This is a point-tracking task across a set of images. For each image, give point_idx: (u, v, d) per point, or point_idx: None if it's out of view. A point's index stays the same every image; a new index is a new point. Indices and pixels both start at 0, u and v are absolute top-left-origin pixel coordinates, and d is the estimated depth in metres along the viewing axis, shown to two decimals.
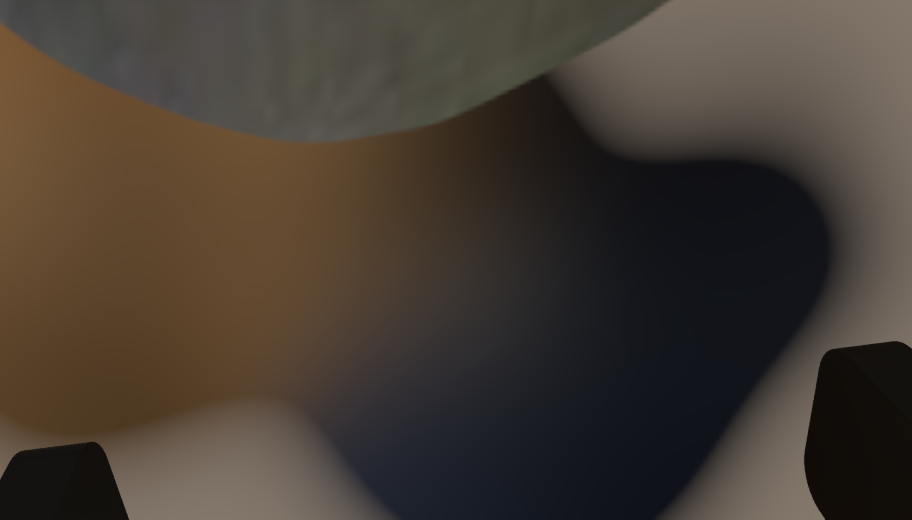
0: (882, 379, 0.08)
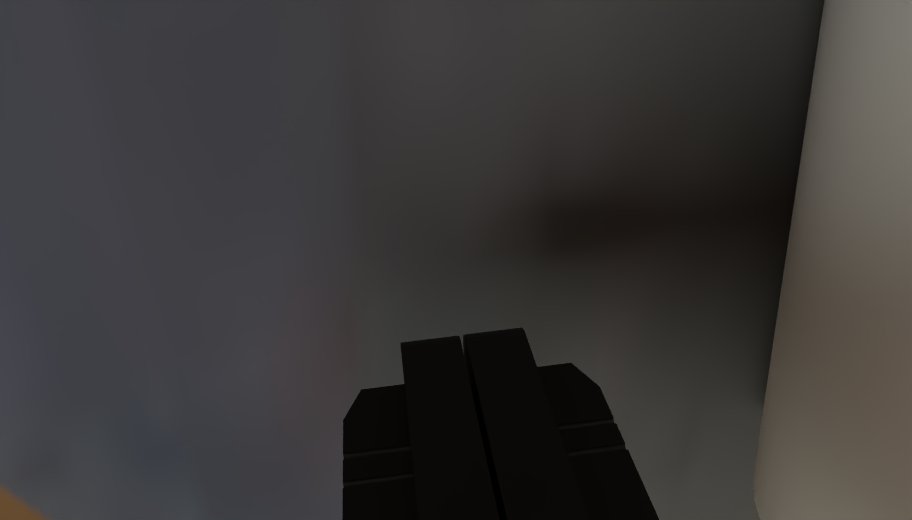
0: (482, 361, 0.09)
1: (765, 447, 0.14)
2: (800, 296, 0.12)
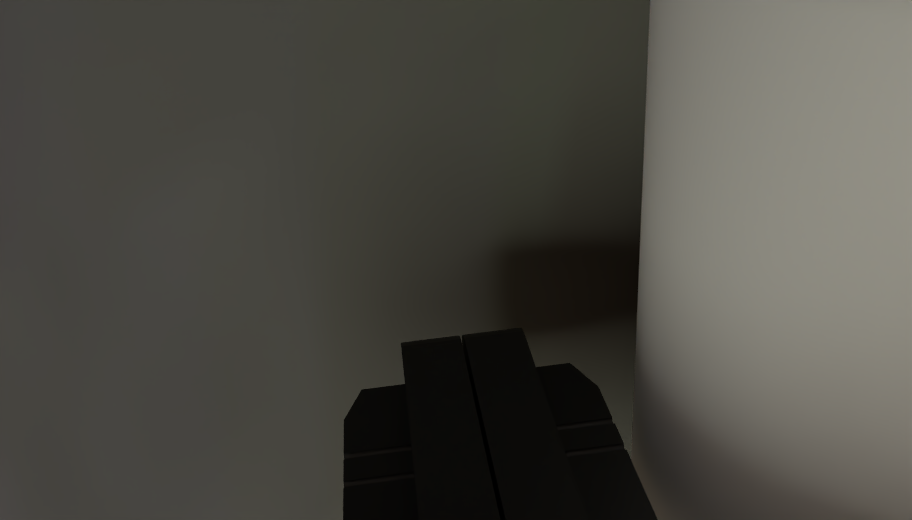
0: (481, 361, 0.09)
1: None
2: None
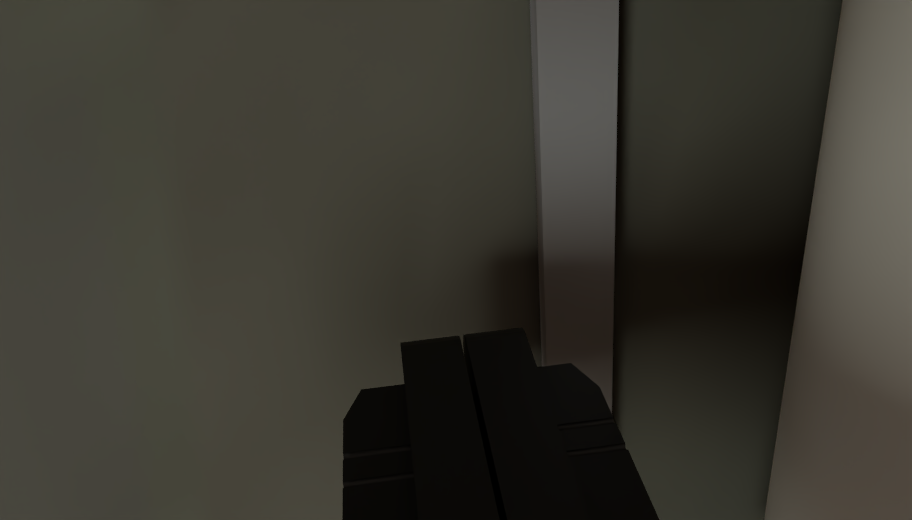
0: (482, 361, 0.09)
1: None
2: None
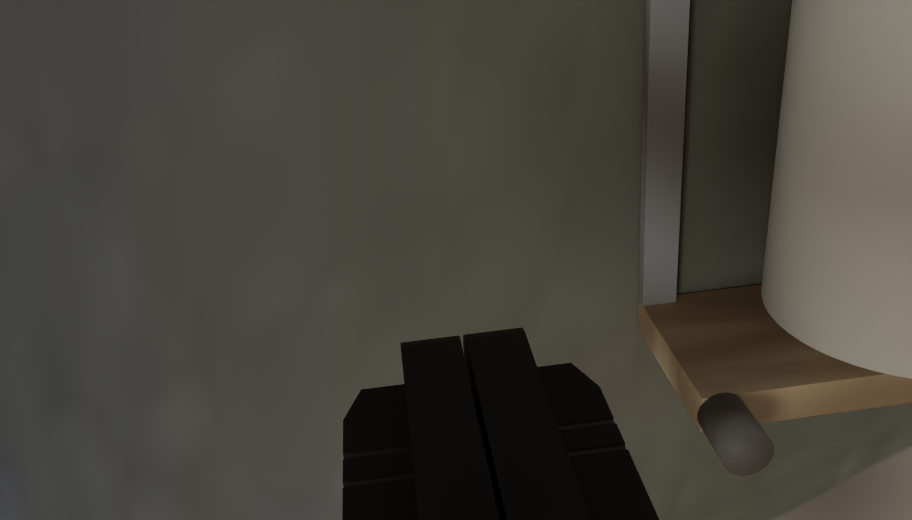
0: (481, 361, 0.09)
1: None
2: None
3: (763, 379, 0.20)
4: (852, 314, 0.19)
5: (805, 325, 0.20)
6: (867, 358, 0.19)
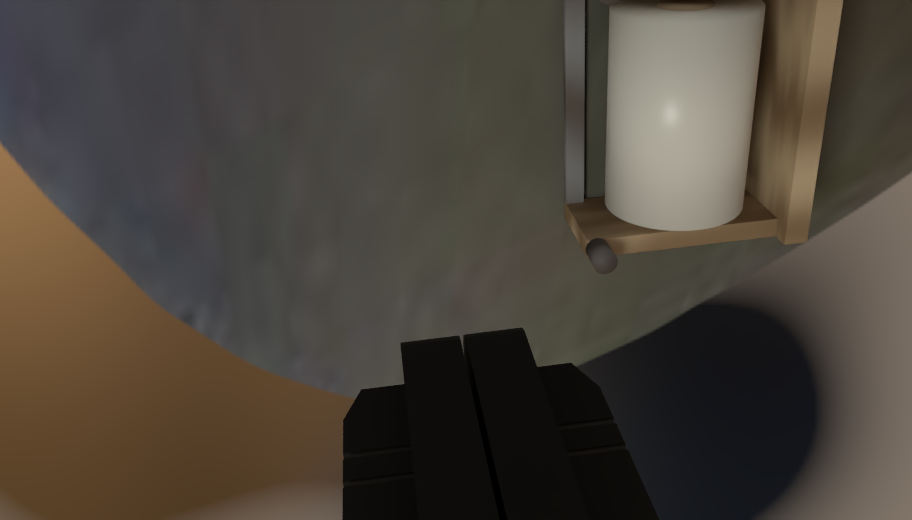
0: (482, 361, 0.09)
1: None
2: None
3: (618, 233, 0.42)
4: (618, 194, 0.41)
5: (608, 200, 0.42)
6: (624, 215, 0.41)
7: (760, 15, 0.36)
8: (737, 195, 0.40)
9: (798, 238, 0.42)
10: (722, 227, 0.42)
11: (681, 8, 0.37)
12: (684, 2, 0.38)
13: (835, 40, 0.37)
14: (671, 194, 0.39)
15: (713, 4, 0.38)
